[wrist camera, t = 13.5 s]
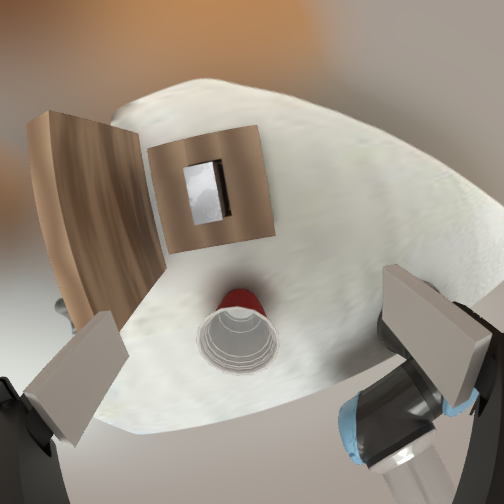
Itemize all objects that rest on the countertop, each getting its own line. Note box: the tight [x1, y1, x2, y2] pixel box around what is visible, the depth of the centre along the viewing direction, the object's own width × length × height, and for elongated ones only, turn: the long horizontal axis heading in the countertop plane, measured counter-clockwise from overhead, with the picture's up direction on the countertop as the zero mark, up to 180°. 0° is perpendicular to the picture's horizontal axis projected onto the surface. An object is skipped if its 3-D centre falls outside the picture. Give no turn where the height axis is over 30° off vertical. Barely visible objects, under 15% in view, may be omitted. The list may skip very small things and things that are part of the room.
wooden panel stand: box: [27, 110, 276, 332], centre depth 29 cm, size 20×22×22 cm
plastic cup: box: [196, 289, 280, 376], centre depth 39 cm, size 11×11×12 cm
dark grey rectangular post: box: [183, 162, 230, 225], centre depth 33 cm, size 3×6×12 cm, turn 9°
